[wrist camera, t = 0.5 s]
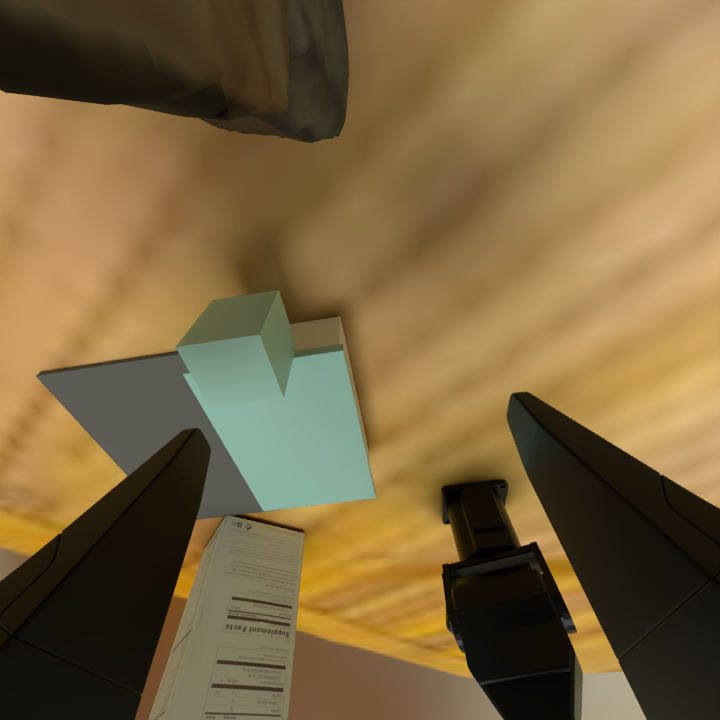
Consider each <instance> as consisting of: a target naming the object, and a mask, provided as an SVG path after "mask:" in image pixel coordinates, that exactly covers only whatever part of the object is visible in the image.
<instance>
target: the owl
mask: <svg viewBox="0 0 720 720" xmlns="http://www.w3.org/2000/svg"><path fill="white" fill-rule="evenodd" d="M0 90H2V91H4V92H6V93H15V94H24V95H32V96H40V97H48V98H56V99H64V100H72V101H80V102H88V103H96V104H104V105H111V104H123V105H128V106H133V107H138V108H143V109H148V110H153V111H158V112H163V113H168V114H172V115H178V116H183V117H195V118H200V119H202V120H204V121H206V122H207V123H209V124H211V125H213V126H216V127H218V128H222V129H226V130H228V131H238V132H240V133H243V134H259V135H276V136H279V137H282V138H290V139H294V140H298V141H303V142H309V143H313V142H316V141H319V140H322V139H333V138H334V137H336V136H339V135H340V132H341V130H342V127H343V125H344V122H345V117H346V107H347V93H348V45H347V36H346V28H345V19H344V12H343V5H342V0H0Z"/></svg>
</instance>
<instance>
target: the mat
mask: <svg viewBox="0 0 720 720" xmlns="http://www.w3.org/2000/svg"><path fill="white" fill-rule="evenodd" d="M186 369H187V367H186V365H185V363H184V361H183V360H182V358H181V356H180V354H179V353H178V352H172V353H166V354H159V355H153V356H146V357H139V358H133V359H126V360H120V361H113V362H107V363H100V364H93V365H87V366H80V367H74V368H67V369H60V370H54V371H47V372H41V373H39V374H38V375H36V377H37V378H38V379H39V380H40V381H41V382H42V383H43V384H44V385H45V386H46V388H47V389H48V390H49V391H50V392H51V393H52V394H53V395H54V396H55V397H56V398H57V400H58V401H59V402H60V403H61V404H62V405H63V406H64V407H65V408H66V409H67V410H68V412H69V413H70V414H71V415H72V416H73V417H74V418H75V419H76V420H77V421H78V422H79V423H80V425H81V426H82V427H83V428H84V429H85V430H86V431H87V432H88V433H89V434H90V435H91V437H92V438H93V439H94V440H95V441H96V442H97V443H98V444H99V445H100V446H101V447H102V449H103V450H104V451H105V452H106V453H107V454H108V455H109V456H110V457H111V458H112V459H113V461H114V462H115V463H116V464H117V465H118V466H119V467H120V468H121V469H122V470H123V471H124V473H125V474H126V475H127V476H129V475H130V474H131V473H132V472H133V471H135V470H136V469H137V468H138V467H139V466H141V465H142V464H143V463H144V462H145V461H146V460H148V459H149V458H150V457H151V456H152V455H154V454H155V453H156V452H157V451H158V450H160V449H161V448H162V447H163V446H164V445H166V444H167V443H168V442H169V441H170V440H172V439H173V438H174V437H175V436H176V435H177V434H179V433H180V432H181V431H182V430H184V429H189V428H199V429H201V431H202V432H203V434H204V436H205V438H206V439H207V441H208V443H209V445H210V447H211V456H210V461H209V466H208V471H207V476H206V482H205V487H204V492H203V497H202V501H201V505H200V508H199V512H198V515H197V518H196V520H197V519H205V518H214V517H222V516H227V515H230V516H231V515H239V514H248V513H256V512H265V511H263V510H262V508H261V506H260V505H259V503H258V501H257V500H256V498H255V496H254V494H253V493H252V491H251V489H250V488H249V486H248V484H247V483H246V481H245V479H244V478H243V476H242V474H241V472H240V471H239V469H238V467H237V466H236V464H235V462H234V461H233V459H232V457H231V455H230V454H229V452H228V450H227V449H226V447H225V445H224V444H223V442H222V440H221V438H220V437H219V435H218V433H217V432H216V430H215V428H214V427H213V425H212V423H211V421H210V420H209V418H208V416H207V415H206V413H205V411H204V410H203V408H202V406H201V405H200V403H199V401H198V399H197V398H196V396H195V394H194V393H193V391H192V389H191V388H190V386H189V384H188V382H187V381H186V379H185V377H184V376H183V373H184V371H185V370H186ZM279 510H280V509H279ZM270 511H273V510H270Z"/></svg>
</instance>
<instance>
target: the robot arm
mask: <svg viewBox="0 0 720 720" xmlns="http://www.w3.org/2000/svg"><path fill="white" fill-rule="evenodd" d="M507 421H508V424H509V427H510V430H511V432H512V435H513V438H514V441H515V444H516V446H517V449H518V452H519V455H520V458H521V461H522V463H523V466H524V469H525V471H526V473H527V475H528V478H529V480H530V482H531V484H532V486H533V488H534V490H535V492H536V494H537V496H538V498H539V500H540V502H541V504H542V506H543V508H544V510H545V512H546V514H547V516H548V518H549V521H550V523H551V525H552V527H553V529H554V531H555V533H556V535H557V537H558V539H559V541H560V543H561V545H562V547H563V549H564V551H565V553H566V555H567V557H568V559H569V561H570V563H571V565H572V567H573V569H574V572H575V574H576V576H577V578H578V580H579V582H580V584H581V586H582V588H583V590H584V592H585V594H586V596H587V598H588V600H589V602H590V604H591V606H592V608H593V610H594V612H595V614H596V616H597V618H598V620H599V623H600V625H601V627H602V629H603V631H604V633H605V635H606V637H607V639H608V641H609V643H610V645H611V647H612V649H613V651H614V653H615V655H616V657H617V659H619V664H620V666H621V668H622V670H623V672H624V674H625V676H626V678H627V680H628V682H629V684H630V686H631V688H632V690H633V692H634V694H635V696H636V698H637V701H638V703H639V705H640V706H641V709H642V711H643V713H644V715H645V717H646V719H647V720H720V509H719V508H718V507H716V506H714V505H712V504H711V503H709V502H707V501H705V500H704V499H702V498H700V497H699V496H697V495H695V494H694V493H692V492H690V491H689V490H687V489H685V488H684V487H682V486H680V485H679V484H677V483H675V482H674V481H672V480H670V479H669V478H667V477H666V476H664V475H661V476H660V473H659V472H657V471H656V470H654V469H652V468H651V467H649V466H647V465H646V464H644V463H643V462H641V461H639V460H638V459H636V458H634V457H633V456H631V455H630V454H628V453H626V452H625V451H623V450H621V449H620V448H618V447H617V446H615V445H613V444H612V443H610V442H608V441H607V440H605V439H604V438H602V437H600V436H599V435H597V434H595V433H594V432H592V431H591V430H589V429H587V428H586V427H584V426H582V425H581V424H579V423H578V422H576V421H574V420H573V419H571V418H569V417H568V416H566V415H565V414H563V413H561V412H560V411H558V410H556V409H555V408H553V407H552V406H550V405H548V404H547V403H545V402H543V401H542V400H540V399H539V398H537V397H535V396H534V395H532V394H530V393H529V392H516V393H512V394H511V396H510V400H509V405H508V410H507ZM210 456H211V447H210V445H209V443H208V441H207V439H206V438H205V436H204V434H203V432H202V431H201V429H199V428H189V429H184V430H182V431H181V432H180V433H179V434H177V435H176V436H175V437H174V438H173V439H172V440H170V441H169V442H168V443H167V444H166V445H164V446H163V447H162V448H161V449H160V450H158V451H157V452H156V453H155V454H154V455H152V456H151V457H150V458H149V459H148V460H146V461H145V462H144V463H143V464H142V465H141V466H139V467H138V468H137V469H136V470H135V471H133V472H132V473H131V474H130V475H129V476H127V477H126V478H125V479H124V480H123V481H121V482H120V483H119V484H118V485H117V486H115V487H114V488H113V489H112V490H111V491H110V492H108V493H107V494H106V495H105V496H104V497H102V498H101V499H100V500H99V501H98V502H96V503H95V504H94V505H93V506H92V507H90V508H89V509H88V510H87V511H86V512H84V513H83V514H82V515H81V516H80V517H78V518H77V519H76V520H75V521H74V522H73V523H71V524H70V525H69V526H68V527H67V528H65V529H64V530H63V531H62V534H58V535H57V536H56V537H55V538H53V539H52V540H51V541H50V542H49V543H47V544H46V545H45V546H44V547H43V548H41V549H40V550H39V551H38V552H37V553H35V554H34V555H33V556H32V557H30V558H29V559H28V560H27V561H25V562H24V563H23V564H22V565H21V566H20V567H18V568H17V569H16V570H14V571H13V572H12V573H10V574H9V575H8V576H7V577H5V578H4V579H3V580H1V581H0V720H135V717H136V714H137V711H138V707H139V704H140V701H141V697H142V696H141V694H142V693H143V690H144V687H145V684H146V680H147V677H148V674H149V670H150V668H151V664H152V661H153V658H154V655H155V651H156V648H157V645H158V642H159V638H160V635H161V632H162V629H163V625H164V622H165V619H166V616H167V612H168V609H169V606H170V603H171V599H172V596H173V593H174V590H175V587H176V583H177V580H178V577H179V574H180V570H181V567H182V564H183V561H184V557H185V554H186V551H187V548H188V544H189V541H190V538H191V535H192V531H193V528H194V525H195V522H196V518H197V515H198V512H199V508H200V505H201V501H202V497H203V492H204V487H205V482H206V476H207V471H208V466H209V461H210ZM507 490H508V484H507V482H506V481H505V480H500V481H492V482H483V483H475V484H466V485H458V486H449V487H444V488H443V489H442V520H443V524H451V528H452V532H453V536H454V540H455V544H456V547H457V551H458V555H459V559H460V562H455V563H451V564H448V563H447V564H443V565H442V567H443V573H442V579H443V585H444V592H445V600H446V625H447V628H448V630H449V631H450V632H451V633H452V634H454V637H455V639H456V641H457V644H458V646H459V648H460V650H461V651H462V652H463V653H465V655H466V660H467V665H468V668H469V670H470V672H471V674H472V675H473V676H474V678H475V679H476V681H477V682H478V683H479V685H480V686H481V688H482V689H483V691H484V692H485V694H486V695H487V696H488V698H489V699H490V701H491V702H492V704H493V705H494V706H495V708H496V709H497V711H498V712H499V714H500V715H501V716H502V718H503V719H504V720H581V709H582V679H583V674H582V669H581V666H580V664H579V661H578V659H577V656H576V653H575V651H574V648H573V646H572V644H571V641H570V639H569V637H568V634H572V633H577V630H576V628H575V625H574V623H573V620H572V618H571V616H570V613H569V611H568V609H567V607H566V604H565V602H564V600H563V598H562V596H561V593H560V591H559V589H558V587H557V585H556V583H555V581H554V578H553V576H552V574H551V572H550V570H549V568H548V566H547V564H546V562H545V559H544V557H543V555H542V553H541V551H540V549H539V547H538V545H537V543H536V542H532V543H530V544H529V545H525V546H521V545H520V542H519V540H518V538H517V535H516V533H515V530H514V528H513V526H512V523H511V521H510V518H509V516H508V514H507V511H506V509H505V501H506V495H507ZM540 572H542V574H541V573H540Z"/></svg>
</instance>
